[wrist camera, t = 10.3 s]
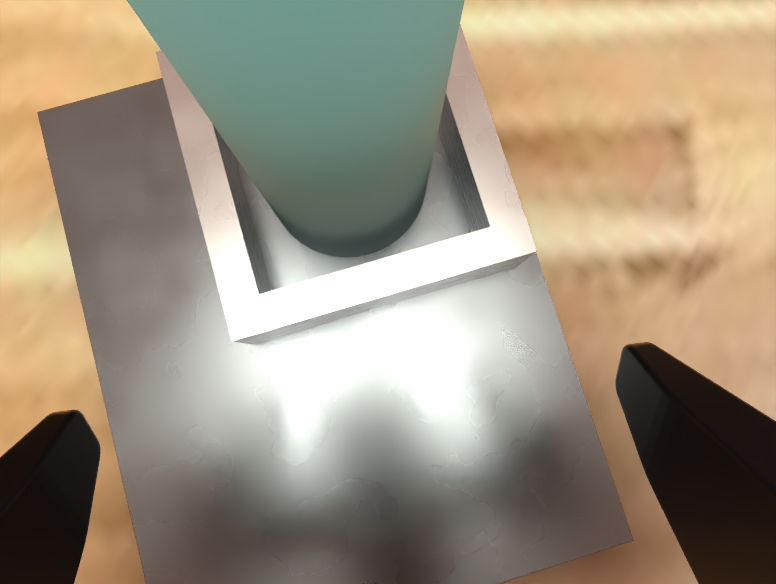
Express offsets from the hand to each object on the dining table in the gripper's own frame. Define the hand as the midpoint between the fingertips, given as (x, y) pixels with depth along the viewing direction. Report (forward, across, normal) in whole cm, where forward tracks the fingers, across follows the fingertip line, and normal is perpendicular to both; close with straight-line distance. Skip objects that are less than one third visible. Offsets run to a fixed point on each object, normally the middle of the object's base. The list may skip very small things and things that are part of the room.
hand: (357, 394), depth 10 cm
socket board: (+8, +1, +5) cm, 10 cm away
